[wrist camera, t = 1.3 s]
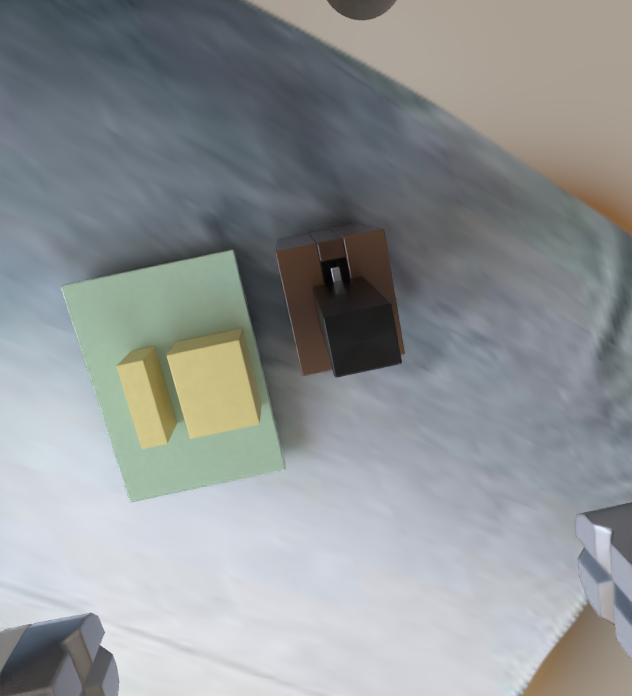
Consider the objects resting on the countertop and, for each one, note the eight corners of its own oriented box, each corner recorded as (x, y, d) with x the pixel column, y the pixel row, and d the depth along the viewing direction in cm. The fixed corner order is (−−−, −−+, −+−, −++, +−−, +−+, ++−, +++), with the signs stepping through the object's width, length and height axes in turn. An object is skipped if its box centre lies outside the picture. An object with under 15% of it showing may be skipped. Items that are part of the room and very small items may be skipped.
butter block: (176, 341, 33) (166, 355, 30) (242, 327, 33) (239, 339, 30) (197, 419, 35) (189, 439, 32) (262, 405, 35) (260, 424, 32)
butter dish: (66, 283, 33) (59, 286, 32) (234, 248, 33) (233, 249, 32) (133, 494, 37) (129, 503, 36) (285, 462, 37) (285, 469, 36)
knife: (302, 256, 33) (318, 298, 19) (342, 247, 33) (389, 283, 19) (314, 313, 34) (338, 395, 20) (353, 305, 34) (405, 381, 20)
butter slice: (130, 351, 33) (115, 365, 30) (155, 346, 33) (143, 359, 30) (153, 428, 35) (141, 449, 32) (177, 423, 35) (167, 444, 32)
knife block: (276, 239, 33) (274, 251, 25) (360, 222, 33) (384, 228, 25) (297, 337, 35) (302, 376, 27) (377, 320, 35) (405, 354, 27)
